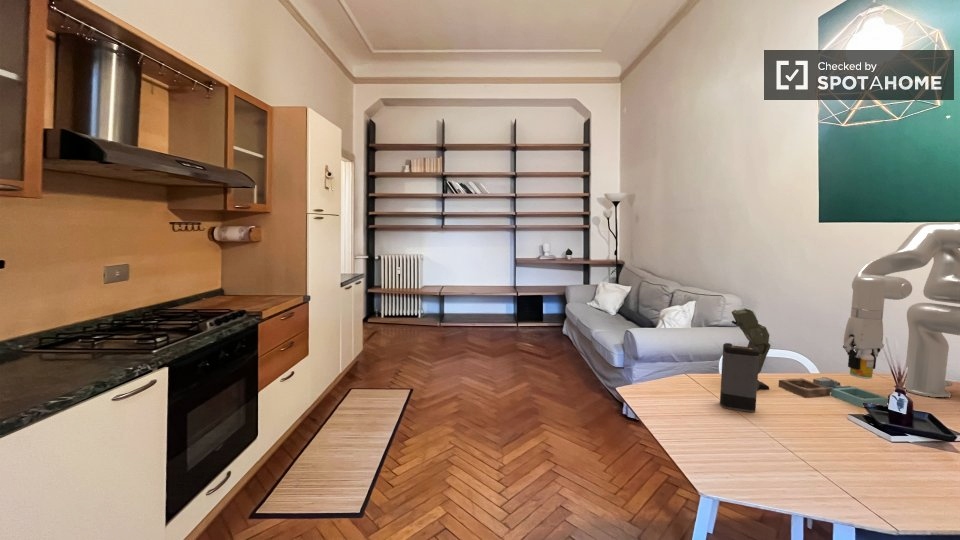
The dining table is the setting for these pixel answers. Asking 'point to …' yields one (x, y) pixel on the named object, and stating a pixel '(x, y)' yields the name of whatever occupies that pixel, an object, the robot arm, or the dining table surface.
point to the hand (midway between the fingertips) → (861, 367)
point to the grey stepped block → (825, 382)
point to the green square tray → (853, 392)
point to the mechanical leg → (753, 336)
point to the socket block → (810, 390)
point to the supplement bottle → (864, 365)
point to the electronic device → (739, 377)
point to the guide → (838, 386)
